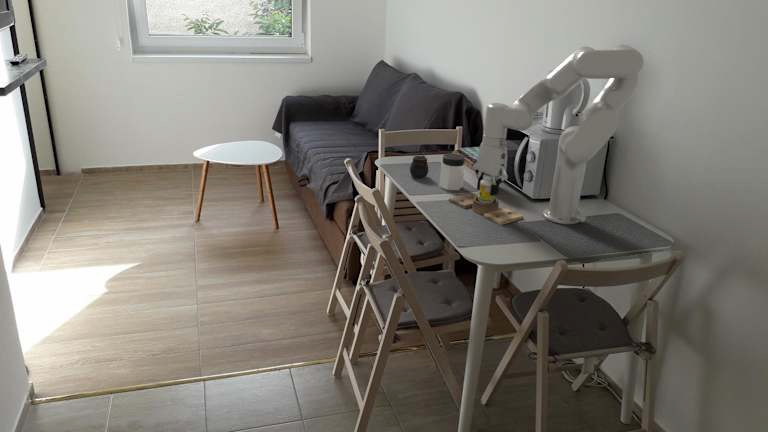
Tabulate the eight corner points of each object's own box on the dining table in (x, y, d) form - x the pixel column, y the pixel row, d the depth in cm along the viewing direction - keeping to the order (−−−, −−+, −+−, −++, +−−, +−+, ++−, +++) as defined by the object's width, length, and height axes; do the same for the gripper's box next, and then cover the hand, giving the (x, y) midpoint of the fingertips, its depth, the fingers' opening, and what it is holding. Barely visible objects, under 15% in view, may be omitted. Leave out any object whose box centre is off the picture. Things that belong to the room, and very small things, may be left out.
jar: (457, 192, 235) (461, 161, 231) (436, 188, 238) (439, 157, 234) (464, 185, 243) (468, 155, 239) (444, 181, 246) (447, 151, 241)
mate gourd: (407, 178, 247) (409, 153, 243) (412, 172, 254) (414, 148, 250) (425, 181, 245) (427, 156, 241) (429, 175, 252) (431, 151, 248)
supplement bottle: (494, 204, 217) (498, 177, 214) (479, 203, 217) (482, 176, 213) (492, 198, 222) (496, 172, 219) (477, 197, 222) (480, 171, 218)
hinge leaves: (522, 218, 215) (524, 208, 214) (501, 224, 209) (502, 215, 207) (470, 195, 233) (471, 186, 232) (448, 201, 226) (449, 191, 225)
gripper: (521, 146, 208) (513, 198, 215) (482, 133, 220) (476, 183, 227) (506, 149, 203) (498, 202, 210) (467, 136, 215) (461, 186, 222)
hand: (487, 191), depth 218 cm, fingers closed on supplement bottle, 5 cm apart
